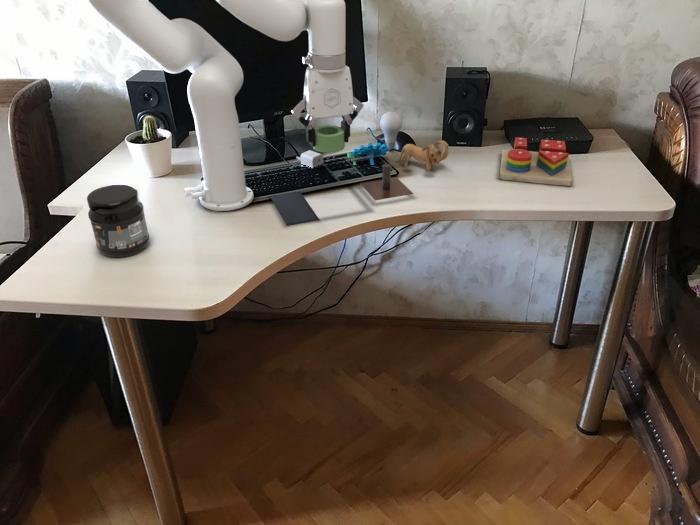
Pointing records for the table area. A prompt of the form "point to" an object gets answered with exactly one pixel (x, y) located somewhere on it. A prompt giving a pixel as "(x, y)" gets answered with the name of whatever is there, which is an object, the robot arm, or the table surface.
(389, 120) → the lightbulb
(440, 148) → the lion figurine
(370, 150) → the dinosaur figurine
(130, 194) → the supplement container
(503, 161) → the shape sorter
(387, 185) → the stand
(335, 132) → the ring
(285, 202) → the mat
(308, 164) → the usb wall charger
